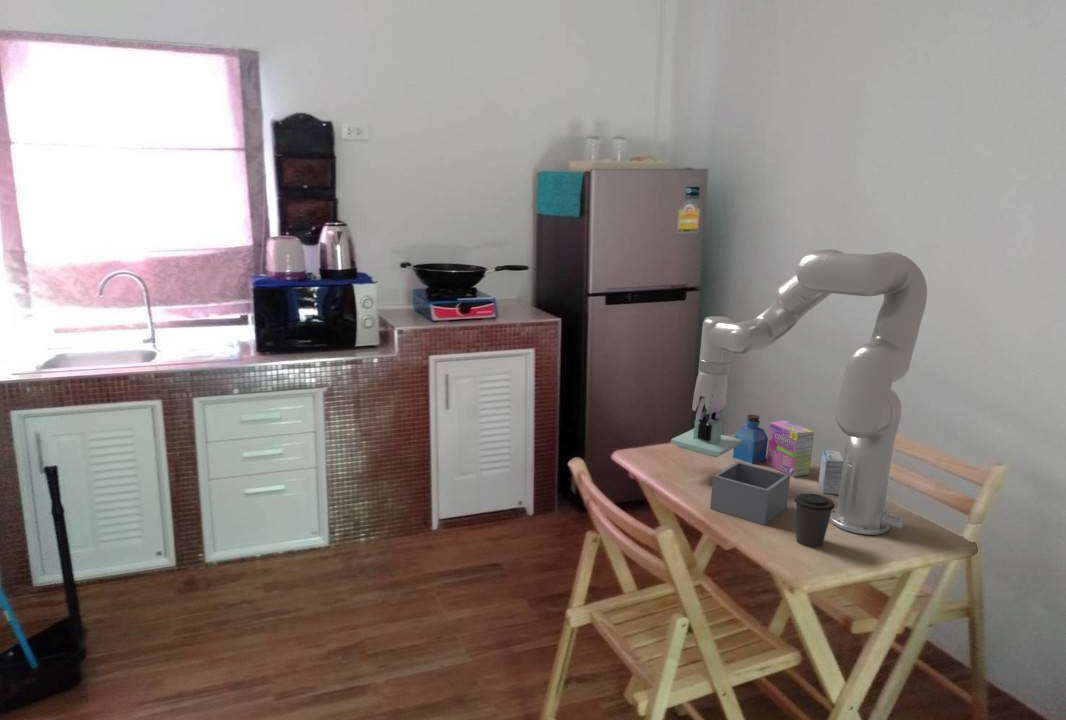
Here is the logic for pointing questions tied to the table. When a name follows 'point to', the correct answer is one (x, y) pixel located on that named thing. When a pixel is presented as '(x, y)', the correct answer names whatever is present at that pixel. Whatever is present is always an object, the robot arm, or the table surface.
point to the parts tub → (750, 492)
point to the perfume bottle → (751, 441)
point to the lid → (713, 446)
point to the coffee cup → (812, 518)
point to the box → (790, 448)
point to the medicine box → (830, 472)
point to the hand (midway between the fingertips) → (707, 437)
